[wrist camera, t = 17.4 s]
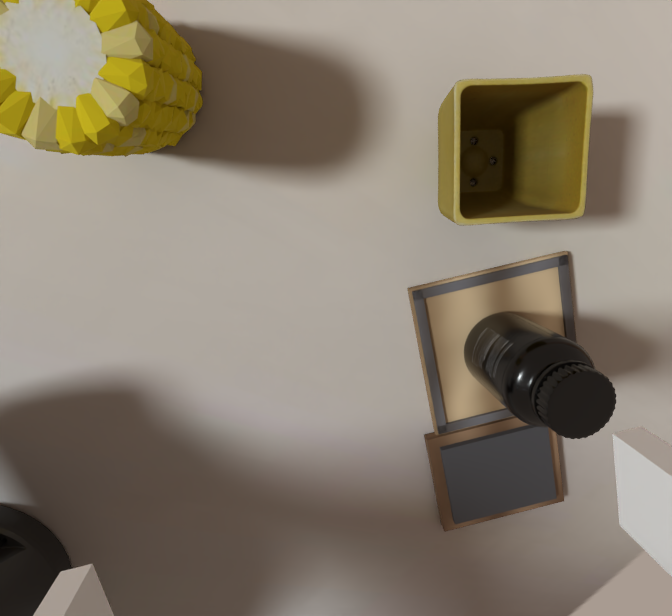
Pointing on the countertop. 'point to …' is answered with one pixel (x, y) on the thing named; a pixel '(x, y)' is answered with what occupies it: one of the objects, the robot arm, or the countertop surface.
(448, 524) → the ink tray
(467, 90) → the flower pot
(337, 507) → the countertop surface
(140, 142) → the food
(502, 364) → the supplement bottle
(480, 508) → the pad
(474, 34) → the countertop surface
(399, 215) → the countertop surface
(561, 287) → the board
